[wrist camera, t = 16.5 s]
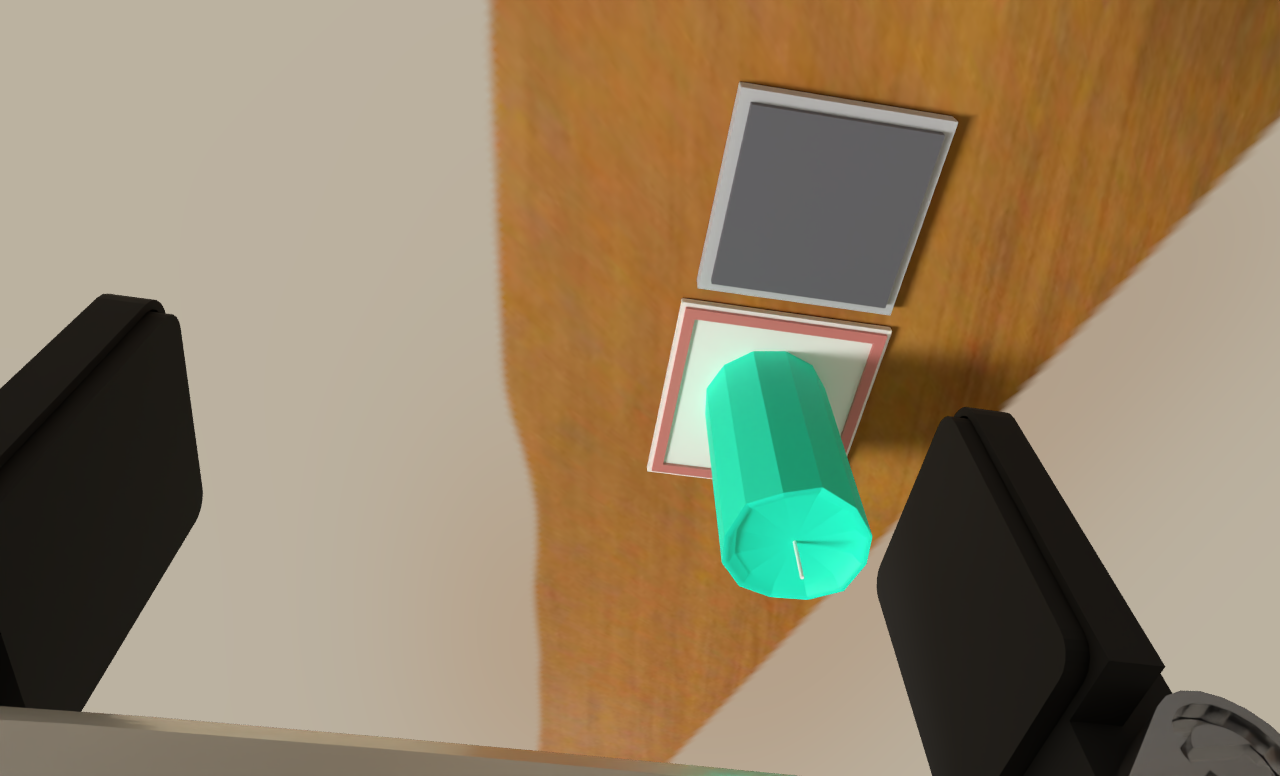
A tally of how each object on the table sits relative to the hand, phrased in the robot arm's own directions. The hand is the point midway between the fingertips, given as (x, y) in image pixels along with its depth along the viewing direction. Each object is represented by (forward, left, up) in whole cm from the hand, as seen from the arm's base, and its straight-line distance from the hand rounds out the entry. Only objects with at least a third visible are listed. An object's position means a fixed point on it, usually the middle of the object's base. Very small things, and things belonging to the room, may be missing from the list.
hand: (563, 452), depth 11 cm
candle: (+17, +10, -28) cm, 34 cm away
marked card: (+17, +10, -28) cm, 34 cm away
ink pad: (+7, +10, -28) cm, 31 cm away
